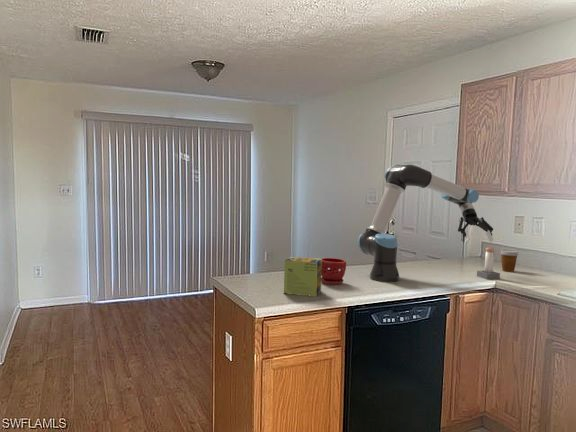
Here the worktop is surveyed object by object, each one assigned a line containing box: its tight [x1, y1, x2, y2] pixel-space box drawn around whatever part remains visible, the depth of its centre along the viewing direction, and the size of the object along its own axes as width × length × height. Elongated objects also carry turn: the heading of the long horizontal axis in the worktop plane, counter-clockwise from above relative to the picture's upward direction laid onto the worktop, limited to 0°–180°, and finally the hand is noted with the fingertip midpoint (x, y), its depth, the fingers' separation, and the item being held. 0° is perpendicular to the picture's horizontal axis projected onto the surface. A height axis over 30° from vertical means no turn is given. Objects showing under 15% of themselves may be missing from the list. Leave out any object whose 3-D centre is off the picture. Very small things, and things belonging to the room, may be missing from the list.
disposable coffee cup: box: [500, 249, 519, 273], centre depth 262 cm, size 10×10×12 cm
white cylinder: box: [483, 247, 495, 273], centre depth 237 cm, size 4×4×16 cm
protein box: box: [283, 256, 322, 297], centre depth 201 cm, size 10×15×16 cm
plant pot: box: [321, 257, 347, 286], centre depth 222 cm, size 13×13×12 cm
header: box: [476, 269, 501, 280], centre depth 238 cm, size 8×8×4 cm
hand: (479, 240), depth 248 cm, fingers open, 13 cm apart
